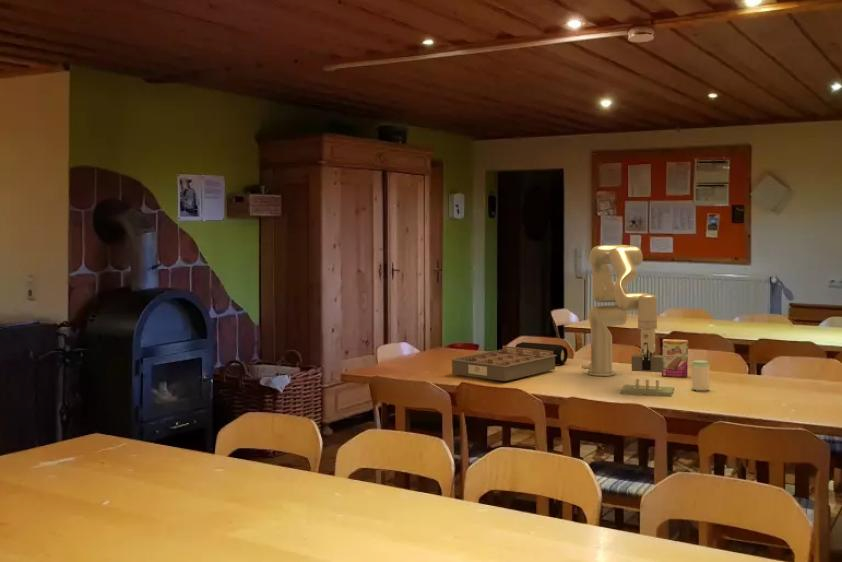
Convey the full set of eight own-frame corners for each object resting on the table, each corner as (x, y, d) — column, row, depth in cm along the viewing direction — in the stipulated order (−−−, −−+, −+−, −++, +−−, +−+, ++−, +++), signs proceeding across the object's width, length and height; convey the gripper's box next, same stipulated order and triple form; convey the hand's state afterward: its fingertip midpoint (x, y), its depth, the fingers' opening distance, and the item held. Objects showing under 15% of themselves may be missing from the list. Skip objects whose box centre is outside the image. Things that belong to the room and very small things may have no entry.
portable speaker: (513, 362, 430) (513, 343, 429) (522, 360, 438) (522, 340, 437) (559, 366, 415) (559, 346, 415) (568, 363, 424) (568, 343, 423)
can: (712, 391, 350) (712, 362, 349) (695, 391, 349) (695, 362, 348) (705, 388, 357) (705, 359, 356) (688, 388, 356) (688, 360, 355)
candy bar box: (661, 376, 384) (661, 340, 383) (662, 374, 389) (662, 339, 388) (687, 377, 380) (687, 341, 379) (688, 375, 385) (688, 339, 384)
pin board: (620, 393, 348) (620, 381, 348) (624, 388, 360) (624, 376, 359) (671, 396, 341) (671, 384, 341) (674, 390, 352) (674, 378, 352)
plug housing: (631, 371, 349) (631, 356, 349) (633, 368, 355) (633, 354, 354) (661, 372, 344) (661, 357, 344) (663, 370, 350) (663, 355, 350)
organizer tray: (449, 376, 394) (449, 355, 394) (503, 365, 423) (503, 345, 423) (505, 384, 373) (504, 362, 372) (557, 372, 402) (557, 351, 401)
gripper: (654, 327, 339) (654, 372, 340) (659, 322, 355) (659, 365, 356) (634, 327, 342) (635, 371, 343) (640, 322, 358) (640, 365, 359)
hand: (647, 368), depth 349 cm, fingers closed on plug housing, 6 cm apart
